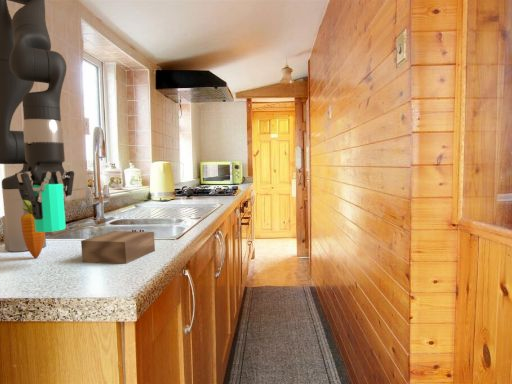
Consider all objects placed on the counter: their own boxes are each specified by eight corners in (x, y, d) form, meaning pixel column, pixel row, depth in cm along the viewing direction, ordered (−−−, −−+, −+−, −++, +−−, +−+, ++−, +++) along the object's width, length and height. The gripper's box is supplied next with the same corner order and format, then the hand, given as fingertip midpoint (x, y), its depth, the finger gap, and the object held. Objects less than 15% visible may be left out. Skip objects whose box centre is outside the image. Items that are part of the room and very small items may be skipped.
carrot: (52, 256, 89) (47, 197, 88) (34, 261, 84) (28, 199, 83) (37, 255, 90) (32, 197, 89) (19, 260, 86) (13, 199, 84)
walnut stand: (82, 261, 82) (81, 240, 82) (115, 249, 94) (114, 231, 93) (126, 263, 79) (124, 241, 79) (154, 250, 90) (153, 231, 90)
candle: (44, 227, 82) (40, 176, 81) (70, 226, 82) (67, 176, 81) (29, 232, 76) (25, 177, 75) (58, 231, 76) (54, 177, 75)
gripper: (57, 143, 85) (61, 212, 87) (0, 140, 71) (6, 222, 73) (82, 142, 83) (86, 212, 85) (28, 139, 69) (34, 223, 71)
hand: (49, 216), depth 79 cm, fingers closed on candle, 4 cm apart
